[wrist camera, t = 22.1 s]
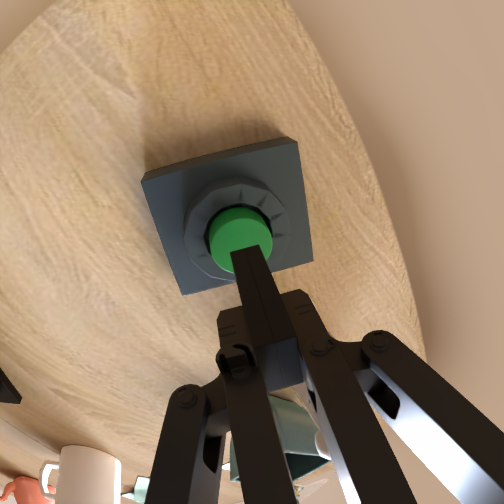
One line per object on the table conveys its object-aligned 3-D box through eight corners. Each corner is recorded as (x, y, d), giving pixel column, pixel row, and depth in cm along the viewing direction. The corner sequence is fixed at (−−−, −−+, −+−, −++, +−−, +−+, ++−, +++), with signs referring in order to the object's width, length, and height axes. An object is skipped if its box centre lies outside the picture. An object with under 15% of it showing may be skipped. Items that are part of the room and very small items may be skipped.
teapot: (58, 499, 50) (56, 529, 42) (-5, 470, 41) (-11, 501, 33) (76, 495, 48) (75, 529, 39) (6, 463, 39) (-1, 499, 31)
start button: (216, 265, 21) (219, 280, 19) (201, 215, 19) (203, 227, 17) (270, 251, 21) (277, 265, 19) (260, 200, 19) (267, 210, 18)
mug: (58, 465, 39) (52, 514, 30) (33, 438, 34) (23, 495, 25) (127, 473, 42) (127, 526, 32) (110, 448, 37) (108, 511, 28)
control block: (182, 279, 25) (182, 311, 22) (145, 172, 21) (135, 190, 17) (304, 247, 26) (322, 274, 22) (287, 136, 21) (306, 146, 18)
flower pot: (271, 431, 39) (286, 486, 31) (218, 418, 35) (228, 481, 28) (317, 397, 37) (340, 456, 29) (264, 379, 33) (284, 450, 25)
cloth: (172, 510, 55) (172, 518, 53) (96, 485, 44) (96, 495, 42) (242, 493, 52) (244, 502, 50) (167, 468, 42) (168, 480, 40)
